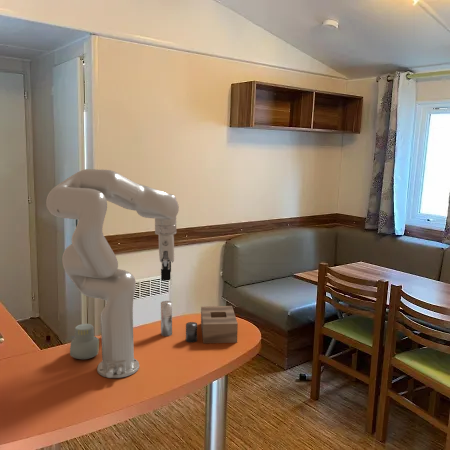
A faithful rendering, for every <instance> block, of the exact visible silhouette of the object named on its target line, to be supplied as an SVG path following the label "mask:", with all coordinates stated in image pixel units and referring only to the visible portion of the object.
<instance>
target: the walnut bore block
mask: <svg viewBox="0 0 450 450" xmlns="http://www.w3.org/2000/svg"><path fill="white" fill-rule="evenodd" d="M200 325H201V326H200V327H201V336H202V344H224V343H230V344H231V343H238V320H237V317H236V314H235V311H234V308H233V305H217V306H215V305H213V306H211V305H210V306H205V305H204V306H200Z"/></svg>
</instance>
